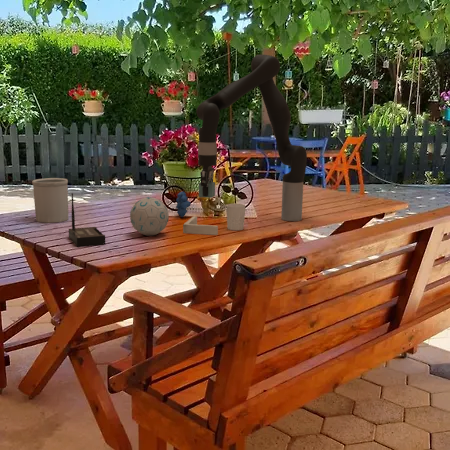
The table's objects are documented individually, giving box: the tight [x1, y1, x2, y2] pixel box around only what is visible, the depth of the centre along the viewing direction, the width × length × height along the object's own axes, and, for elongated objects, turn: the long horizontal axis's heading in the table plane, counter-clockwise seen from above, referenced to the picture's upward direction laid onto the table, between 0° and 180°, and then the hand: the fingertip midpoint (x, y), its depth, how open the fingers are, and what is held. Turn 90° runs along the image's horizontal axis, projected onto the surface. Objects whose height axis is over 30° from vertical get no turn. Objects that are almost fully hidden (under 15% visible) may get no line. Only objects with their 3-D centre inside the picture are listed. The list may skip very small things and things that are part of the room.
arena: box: [182, 215, 219, 236], centre depth 256 cm, size 17×14×4 cm
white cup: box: [225, 203, 246, 231], centre depth 257 cm, size 8×8×10 cm
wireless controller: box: [68, 192, 106, 248], centre depth 235 cm, size 20×14×17 cm
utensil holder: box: [31, 177, 69, 224], centre depth 269 cm, size 15×15×18 cm
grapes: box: [175, 191, 192, 218], centre depth 279 cm, size 12×7×12 cm, turn 20°
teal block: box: [198, 181, 216, 199], centre depth 251 cm, size 6×6×6 cm
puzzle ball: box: [129, 196, 170, 237], centre depth 244 cm, size 15×15×15 cm
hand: (207, 194), depth 252 cm, fingers closed on teal block, 5 cm apart
